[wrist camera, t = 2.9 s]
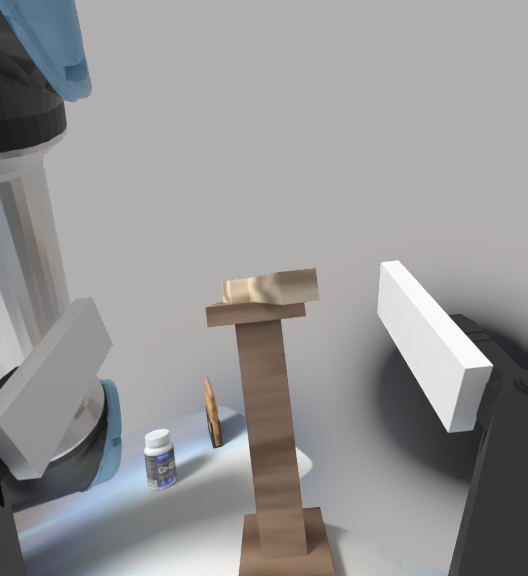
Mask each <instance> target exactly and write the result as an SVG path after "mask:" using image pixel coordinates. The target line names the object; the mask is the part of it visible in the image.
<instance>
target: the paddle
mask: <svg viewBox="0 0 528 576" xmlns="http://www.w3.org/2000/svg"><path fill="white" fill-rule="evenodd" d="M222 293H223V301H224V303H230V304H235V303H243V302H259V303H269V304H278V305H287V304H294V303H302V302H308V301H316V300H319V294H318V285H317V276H316V269H315V268H313V269H304V270H295V271H286V272H278V273H273V274H268V275H263V276H258V277H253V278H247V279H238V280H229V281H225V282H222Z"/></svg>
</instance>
